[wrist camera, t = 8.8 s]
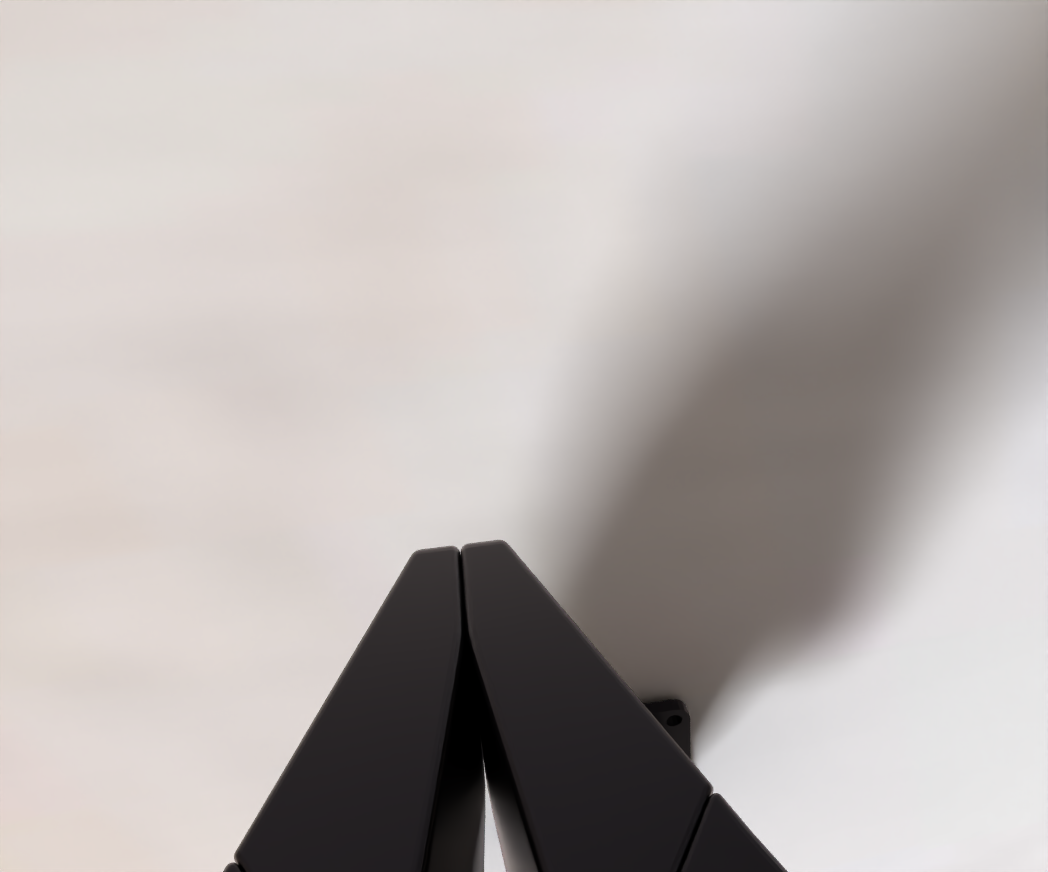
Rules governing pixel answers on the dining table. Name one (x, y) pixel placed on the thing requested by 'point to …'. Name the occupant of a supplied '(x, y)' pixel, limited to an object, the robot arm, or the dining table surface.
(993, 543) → the dining table surface
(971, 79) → the dining table surface
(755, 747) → the dining table surface
